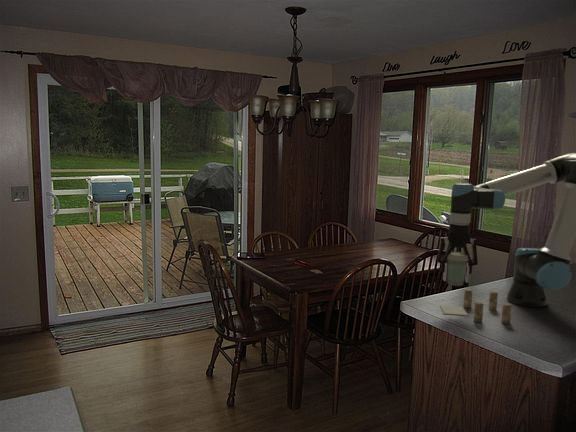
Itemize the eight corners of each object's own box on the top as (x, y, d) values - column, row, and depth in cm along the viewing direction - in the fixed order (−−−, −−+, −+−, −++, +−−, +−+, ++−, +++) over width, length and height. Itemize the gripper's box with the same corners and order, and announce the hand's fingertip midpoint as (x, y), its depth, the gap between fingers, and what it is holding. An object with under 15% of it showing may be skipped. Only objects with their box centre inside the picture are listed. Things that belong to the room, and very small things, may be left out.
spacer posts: (497, 307, 195) (498, 291, 194) (511, 325, 176) (513, 306, 175) (462, 305, 197) (463, 289, 196) (473, 322, 178) (474, 304, 177)
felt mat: (463, 308, 194) (463, 307, 194) (467, 315, 185) (467, 314, 185) (440, 306, 195) (440, 305, 195) (443, 314, 187) (443, 313, 187)
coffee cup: (464, 288, 183) (466, 257, 181) (441, 284, 187) (443, 254, 185) (468, 283, 190) (471, 253, 188) (446, 279, 194) (449, 250, 193)
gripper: (485, 223, 187) (480, 280, 191) (431, 220, 190) (427, 276, 194) (490, 226, 180) (485, 285, 183) (433, 223, 183) (429, 281, 186)
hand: (455, 280), depth 188 cm, fingers closed on coffee cup, 8 cm apart
